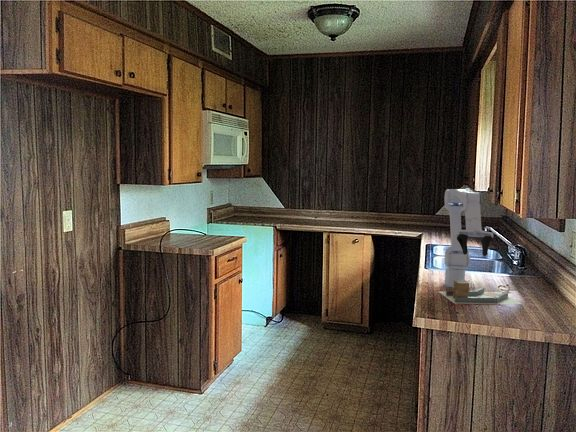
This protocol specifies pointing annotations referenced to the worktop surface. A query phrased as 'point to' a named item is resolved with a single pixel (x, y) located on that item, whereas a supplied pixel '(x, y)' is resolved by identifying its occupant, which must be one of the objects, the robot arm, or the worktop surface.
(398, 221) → the worktop surface
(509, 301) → the channel board
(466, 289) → the walnut block
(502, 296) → the rails
